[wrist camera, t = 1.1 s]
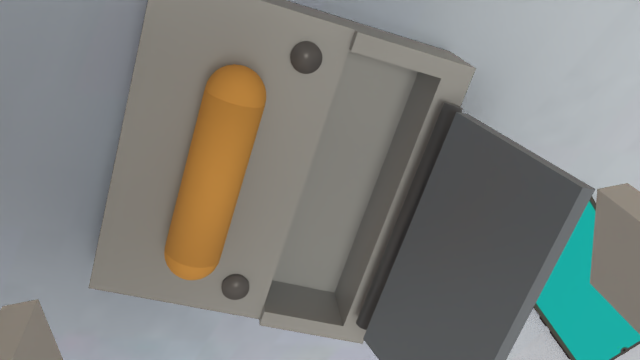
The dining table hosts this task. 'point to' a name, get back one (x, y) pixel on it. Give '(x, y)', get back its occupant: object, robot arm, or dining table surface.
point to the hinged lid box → (275, 158)
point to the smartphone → (582, 302)
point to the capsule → (214, 170)
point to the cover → (469, 246)
